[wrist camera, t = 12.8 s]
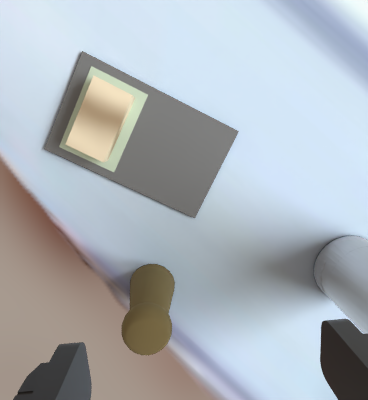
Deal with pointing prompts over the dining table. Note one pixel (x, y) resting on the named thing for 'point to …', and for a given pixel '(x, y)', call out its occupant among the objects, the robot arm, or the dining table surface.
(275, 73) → the dining table surface
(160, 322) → the cork
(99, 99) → the maple tile
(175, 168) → the grey board
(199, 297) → the dining table surface
